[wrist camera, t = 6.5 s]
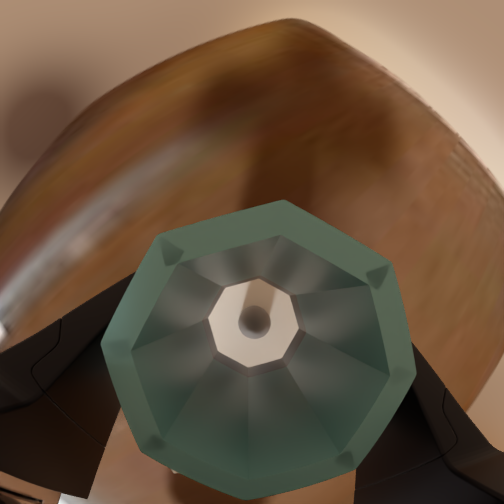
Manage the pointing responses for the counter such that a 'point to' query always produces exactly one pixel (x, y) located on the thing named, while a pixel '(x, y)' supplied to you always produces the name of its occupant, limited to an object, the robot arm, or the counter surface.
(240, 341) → the pin board
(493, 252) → the counter surface
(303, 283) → the teal faceted cylinder
